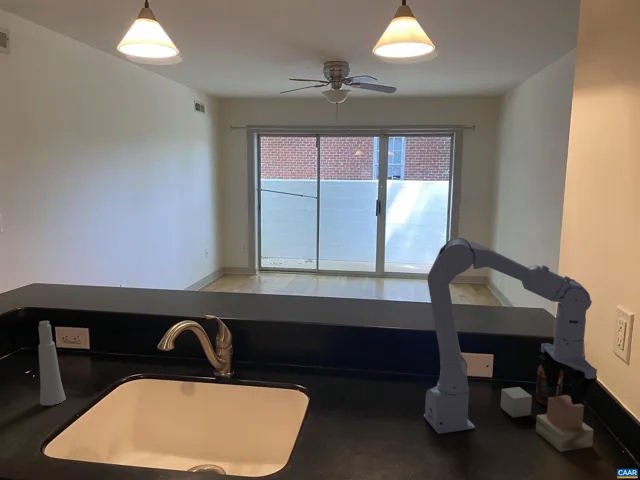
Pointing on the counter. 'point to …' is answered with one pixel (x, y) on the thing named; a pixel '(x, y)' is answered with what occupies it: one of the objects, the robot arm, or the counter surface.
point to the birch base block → (564, 435)
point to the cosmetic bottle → (49, 368)
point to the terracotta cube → (564, 412)
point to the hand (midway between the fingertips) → (564, 394)
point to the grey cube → (516, 402)
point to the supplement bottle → (545, 391)
